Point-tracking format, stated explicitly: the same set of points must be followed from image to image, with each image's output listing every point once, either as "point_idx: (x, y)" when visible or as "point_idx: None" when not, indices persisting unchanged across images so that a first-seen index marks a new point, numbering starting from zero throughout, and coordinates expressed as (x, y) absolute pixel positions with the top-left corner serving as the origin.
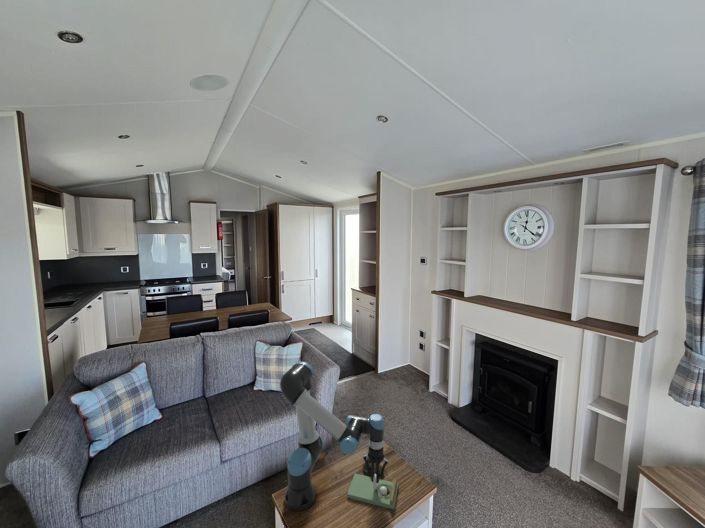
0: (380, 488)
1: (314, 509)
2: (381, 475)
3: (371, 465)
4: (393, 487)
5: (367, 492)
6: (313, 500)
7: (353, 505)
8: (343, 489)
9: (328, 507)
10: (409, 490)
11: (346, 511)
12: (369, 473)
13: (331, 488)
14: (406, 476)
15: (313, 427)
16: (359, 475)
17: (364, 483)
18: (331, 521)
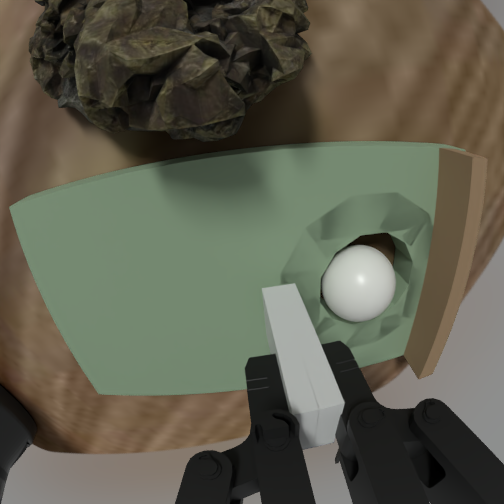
0: (339, 305)
1: (54, 428)
2: (422, 461)
3: (107, 87)
4: (460, 276)
5: (220, 351)
6: (23, 414)
7: (170, 400)
8: (48, 333)
9: (81, 421)
10: (496, 158)
11: (159, 425)
12: (234, 501)
13: (6, 343)
14: (466, 30)
15: None
16: (50, 207)
17: (144, 279)
18: (138, 452)
